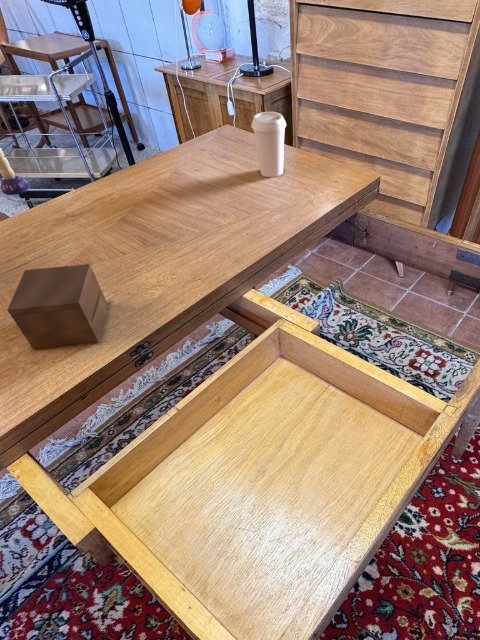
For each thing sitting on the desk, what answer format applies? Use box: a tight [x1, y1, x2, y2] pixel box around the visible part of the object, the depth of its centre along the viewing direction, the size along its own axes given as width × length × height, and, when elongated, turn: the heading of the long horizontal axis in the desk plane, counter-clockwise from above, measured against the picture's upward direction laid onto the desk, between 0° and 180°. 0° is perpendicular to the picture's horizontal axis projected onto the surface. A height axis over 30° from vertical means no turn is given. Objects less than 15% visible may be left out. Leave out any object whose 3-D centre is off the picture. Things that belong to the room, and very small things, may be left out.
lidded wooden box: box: [6, 263, 108, 350], centre depth 84 cm, size 12×12×10 cm
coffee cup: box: [251, 111, 287, 178], centre depth 125 cm, size 10×10×15 cm
